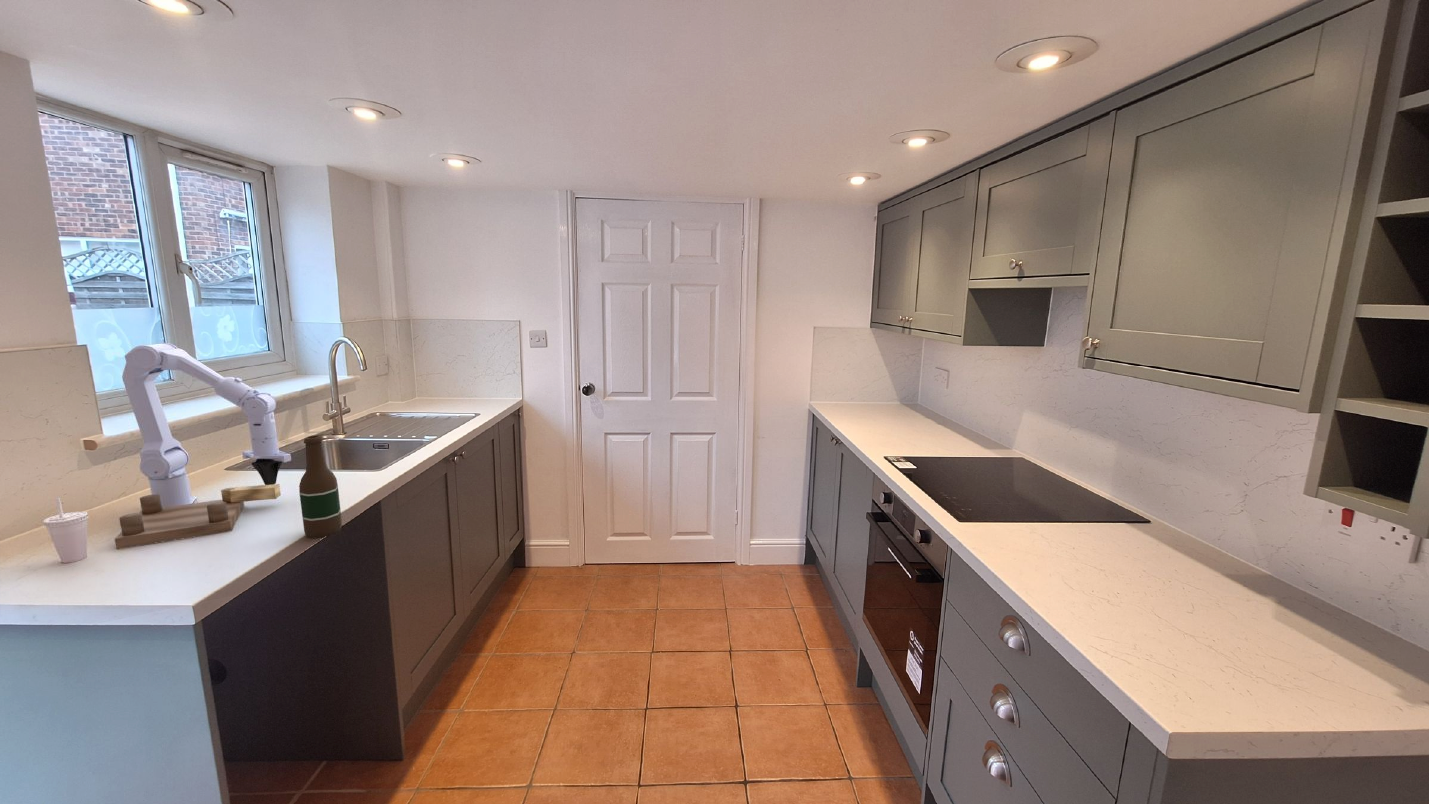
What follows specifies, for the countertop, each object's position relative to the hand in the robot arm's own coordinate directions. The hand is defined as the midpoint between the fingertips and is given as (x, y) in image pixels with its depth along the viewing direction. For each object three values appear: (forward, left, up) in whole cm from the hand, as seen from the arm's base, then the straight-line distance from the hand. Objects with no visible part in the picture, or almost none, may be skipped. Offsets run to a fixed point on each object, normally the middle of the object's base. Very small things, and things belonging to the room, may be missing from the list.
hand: (270, 484), depth 157 cm
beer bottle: (+34, +13, -5) cm, 37 cm away
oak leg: (+6, -4, -2) cm, 7 cm away
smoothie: (+24, -32, -5) cm, 40 cm away
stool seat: (+12, -16, -4) cm, 20 cm away
